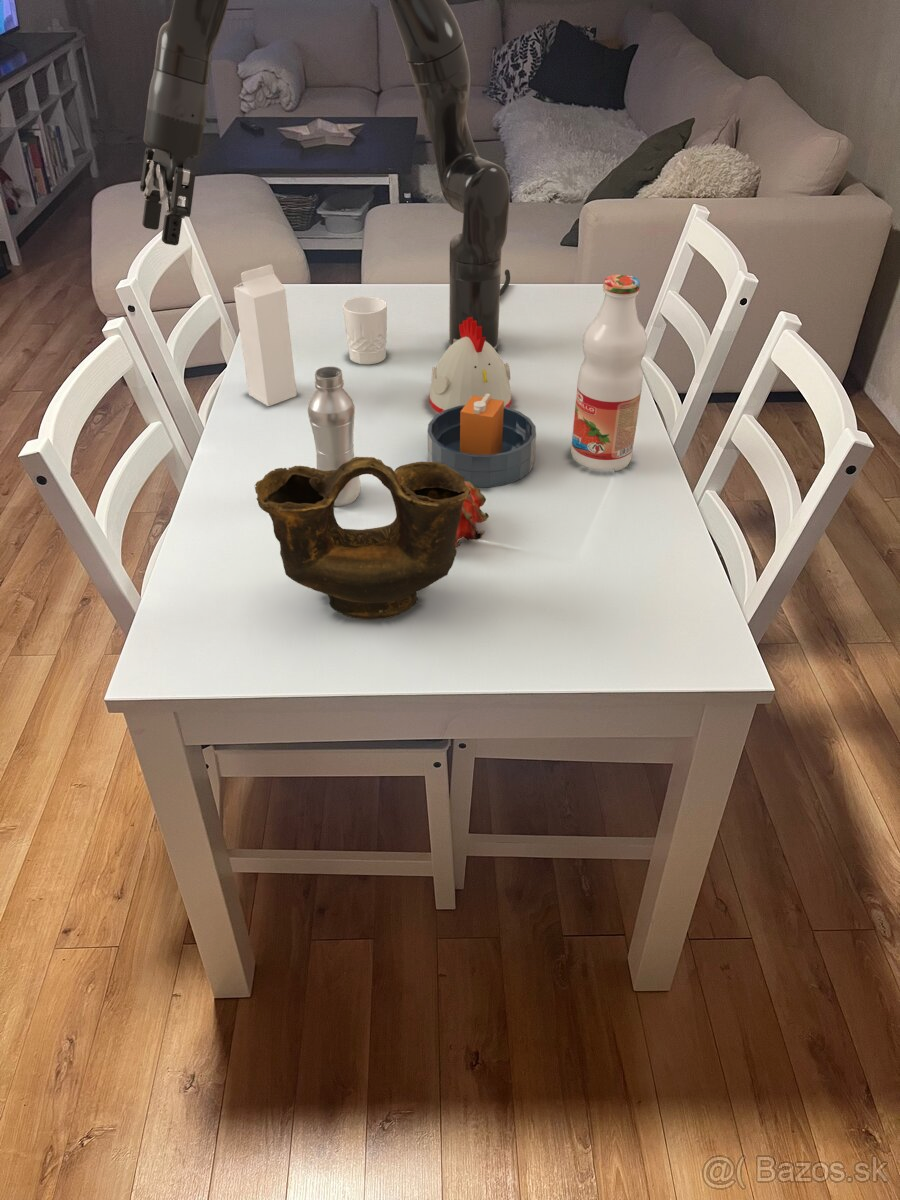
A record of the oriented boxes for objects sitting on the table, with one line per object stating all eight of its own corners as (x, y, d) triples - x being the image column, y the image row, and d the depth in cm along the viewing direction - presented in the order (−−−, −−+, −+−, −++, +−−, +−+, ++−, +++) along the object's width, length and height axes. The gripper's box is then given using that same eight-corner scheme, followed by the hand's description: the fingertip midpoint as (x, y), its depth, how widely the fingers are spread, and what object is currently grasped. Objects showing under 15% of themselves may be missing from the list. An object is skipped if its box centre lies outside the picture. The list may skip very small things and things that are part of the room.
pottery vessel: (268, 631, 114) (247, 491, 101) (272, 576, 122) (253, 442, 110) (473, 618, 116) (477, 480, 103) (463, 565, 124) (465, 432, 112)
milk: (297, 396, 162) (284, 269, 148) (267, 407, 159) (252, 278, 145) (276, 384, 165) (262, 258, 151) (247, 394, 162) (230, 267, 148)
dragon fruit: (471, 520, 135) (450, 578, 127) (423, 487, 133) (399, 544, 125) (505, 488, 129) (486, 547, 121) (456, 453, 127) (433, 511, 119)
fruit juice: (639, 471, 143) (666, 290, 125) (579, 476, 142) (598, 295, 124) (620, 441, 150) (643, 266, 132) (563, 446, 149) (579, 270, 131)
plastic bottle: (368, 492, 138) (361, 365, 125) (350, 516, 133) (340, 387, 120) (328, 484, 140) (317, 358, 127) (309, 508, 135) (295, 379, 122)
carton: (471, 447, 147) (472, 389, 140) (501, 453, 145) (504, 394, 139) (459, 464, 143) (460, 405, 136) (490, 470, 141) (493, 410, 135)
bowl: (449, 430, 153) (449, 396, 149) (545, 448, 148) (548, 413, 144) (412, 479, 141) (411, 444, 137) (515, 500, 136) (517, 464, 133)
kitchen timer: (449, 430, 153) (449, 342, 143) (417, 394, 162) (415, 310, 153) (525, 413, 157) (530, 328, 148) (489, 380, 167) (491, 297, 157)
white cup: (397, 354, 175) (395, 302, 169) (372, 370, 170) (369, 316, 164) (363, 344, 178) (360, 293, 172) (337, 359, 173) (333, 307, 167)
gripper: (221, 130, 124) (202, 254, 132) (184, 111, 134) (168, 227, 141) (166, 116, 120) (149, 245, 127) (132, 97, 129) (118, 218, 137)
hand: (159, 236), depth 134 cm, fingers open, 8 cm apart
